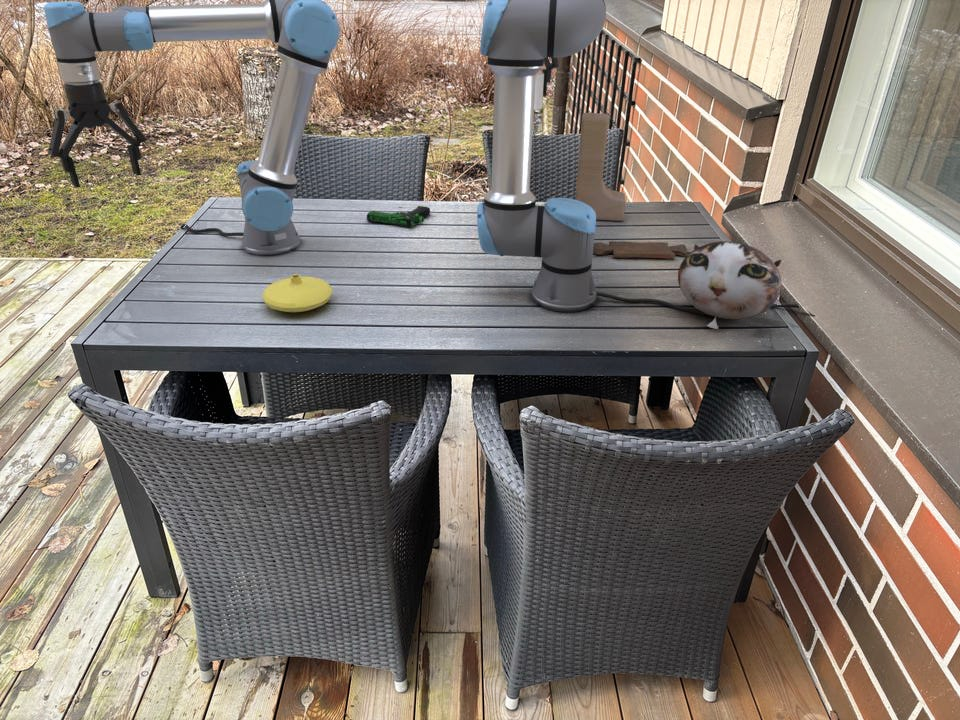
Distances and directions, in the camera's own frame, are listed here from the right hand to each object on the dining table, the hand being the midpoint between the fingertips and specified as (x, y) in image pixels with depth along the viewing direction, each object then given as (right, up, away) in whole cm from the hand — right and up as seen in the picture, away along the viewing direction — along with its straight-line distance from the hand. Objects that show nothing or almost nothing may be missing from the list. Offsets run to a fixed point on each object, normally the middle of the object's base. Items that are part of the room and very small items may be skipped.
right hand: (526, 95), depth 196 cm
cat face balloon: (+43, -63, -32) cm, 82 cm away
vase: (-55, -60, -31) cm, 87 cm away
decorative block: (+24, -29, +24) cm, 44 cm away
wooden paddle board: (+31, -43, 0) cm, 53 cm away
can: (0, -3, +2) cm, 3 cm away
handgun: (-37, -30, +20) cm, 52 cm away
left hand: (-98, -31, -32) cm, 108 cm away
